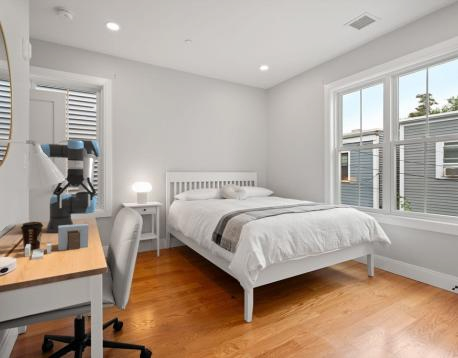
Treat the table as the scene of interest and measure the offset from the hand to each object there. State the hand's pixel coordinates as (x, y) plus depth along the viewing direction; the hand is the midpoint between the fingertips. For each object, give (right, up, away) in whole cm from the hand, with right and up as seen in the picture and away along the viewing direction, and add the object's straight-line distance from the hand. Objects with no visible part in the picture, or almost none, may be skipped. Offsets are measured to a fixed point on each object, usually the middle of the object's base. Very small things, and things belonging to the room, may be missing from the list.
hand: (75, 206), depth 141 cm
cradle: (-2, -19, -24) cm, 31 cm away
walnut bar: (+4, -19, -9) cm, 22 cm away
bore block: (+6, -19, -12) cm, 24 cm away
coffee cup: (-12, -19, -16) cm, 27 cm away
